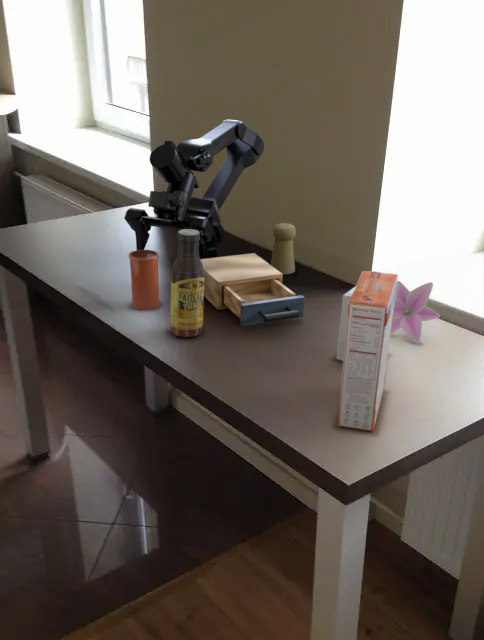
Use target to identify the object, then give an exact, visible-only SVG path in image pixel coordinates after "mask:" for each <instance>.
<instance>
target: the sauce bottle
mask: <svg viewBox="0 0 484 640" xmlns="http://www.w3.org/2000/svg"><path fill="white" fill-rule="evenodd" d="M176 238H177V241H178V248H177V249H178V250H177V256H178V257H176V258H175V260H174V261H173V265H172V267H171V279H170V319H169V321H170V325H171V326H170V331H171V333H172V334H173V335H174V336H176V337H181V338H193V337H196V336H198V335H199V336H200V334H201V333H202V328H203V324H204V298H205V296H204V272H203V264H202V262H201V260H200V258H199V252H198V247H199V246H198V245H199V240H200V232H199V231H197V230H193V229H182V230H178V231H177V236H176Z"/></svg>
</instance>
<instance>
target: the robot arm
mask: <svg viewBox="0 0 484 640" xmlns="http://www.w3.org/2000/svg"><path fill="white" fill-rule="evenodd" d="M224 149H225V150H226V155H227V156H226V158H225V160H224V161H223V162H222V165H221V166H220V168H219V169H218V171H217V172H216V174H215V175H214V177H213V179H212V180H211V182H210V184H209V185H208V187H207V188H206V190H205V192H204V193H203V195H202V197H195V196H193V193H194V190H195V189H199V188H200V183H199V181H198V179H197V175H195V174H194V172H201V173H204V172H206V171H207V170H208V169H209V168H210V167H211V166H212V165H213V163H214V157H215V156H216V155H217V154H218V153H220V152H222V151H223V150H224ZM264 150H265V142H264V140H263V139H262V137H261V135H260V134H259V133H258V132H256V131H255V130H253V129H251V128H249V127H248V126H247V125H246V124H245V123H244V122H243V121H241V120H236V119H225V120H222V121H221V123H220V124H219V125H218V126H216V127H214V128H213V129H212V130H210V131H208V132H207V133H205V134H204V135H202V136H201V137H199V138H193V139H187V140H183V141H180V142H179V143H178V144H176V143H175V141H173V140H168V139H165V141H164V143H163V144H161V145H158V146H157V147H156V148H154V150H153V151H151V153H150V155H149V163H150V165H151V166H152V167H153V169H154V170H155V172H156V173H157V174H158V176H159V177H160V179H161V180H162V181H163V182H164V183H166V184H167V185H166V187H165V190H162V191H157V190H150V192H149V199H148V205H147V206H148V208H153V210H152V212H153V214H155V215H157V217H155V216H149V215H148V212H147V211H146V210H145V209H141V208H133V207H130V208H128V209H127V210H126V211H125V214H124V217H123V219H124V220H125V222H126V223H127V224H128V226H129V227H130V229H131V230H132V231H134V234H135V248H136V249H135V251H136V250H146V249H145V248H146V247H147V243H148V241H149V238H150V233H149V232H150V231H151V229H152V227H153V228H154V227H156V228H163V229H170V230H178V231H179V230H182V229H193V230H197V231H199V232H200V240H199V245H198V246H199V247H198V252H199V258H200V259H208V258H216V257H218V247H217V244H220V243H222V242H223V240H224V238H225V232H226V230H225V228H224V227H223V225H222V224H221V216H220V210H221V208H222V206H223V205H224V203H225V201H226V200H227V198H228V197H229V195H230V193H231V191H232V190H233V188H234V186H235V185H236V183H237V181H238V180H239V178H240V176H242V175H241V174H243V171H244V170H245V169H247V168H249V167H251V166H253V165H255V164H256V162H257V161H258V160H259V159H260V158H261V156H262V155H263V153H264ZM193 171H194V172H193ZM176 256H177V257H178V255H176ZM177 257H176V258H177Z"/></svg>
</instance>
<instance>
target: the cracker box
mask: <svg viewBox="0 0 484 640" xmlns="http://www.w3.org/2000/svg"><path fill="white" fill-rule="evenodd" d="M398 277H399V276H398V274H397V273H389V272H388V273H387V272H379V271H373V270H362V271H361V273H360V275H359V278H358V281H357V283H356V285H355V286H356V287H355V286H354V287H355V290H354V292H353V294H352V296H351V299H350V301H349V304H348V315H347V326H346V339H345V350H344V361H343V362H342V374H341V384H340V395H339V396H340V397H339V410H338V418H337V419H338V422H337V426H338V427H340V428H347V429H353V430H360V431H366V432H374V430H375V427H376V423H377V419H378V415H379V411H380V407H381V402H382V398H383V395H384V391H385V384H386V383H385V382H386V376H387V375H386V374H387V368H388V367H387V366H388V358H389V351H390V350H389V349H390V343H391V335H392V333H391V327H392V319H393V311H394V303H395V295H396V286H397V282H398Z"/></svg>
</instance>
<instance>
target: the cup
mask: <svg viewBox="0 0 484 640" xmlns="http://www.w3.org/2000/svg"><path fill="white" fill-rule="evenodd" d="M159 257H160V256H159V253H158V252H157V251H155V250H151V249H144V250H136V249H135V250H133V251H131V252H129V254H128V258H129V267H130V268H129V269H130V285H131V288H130V289H131V303H132V304H131V305H132V308H134V309H136V310H141V311H151V310H154V309H157V308H159V307H160V288H159V287H160V286H159Z"/></svg>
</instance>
